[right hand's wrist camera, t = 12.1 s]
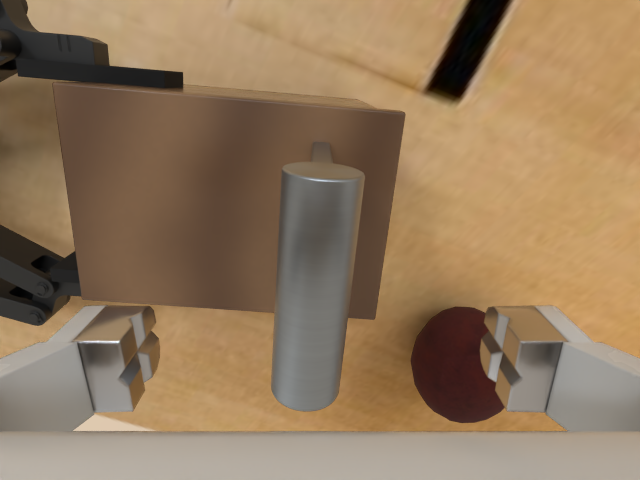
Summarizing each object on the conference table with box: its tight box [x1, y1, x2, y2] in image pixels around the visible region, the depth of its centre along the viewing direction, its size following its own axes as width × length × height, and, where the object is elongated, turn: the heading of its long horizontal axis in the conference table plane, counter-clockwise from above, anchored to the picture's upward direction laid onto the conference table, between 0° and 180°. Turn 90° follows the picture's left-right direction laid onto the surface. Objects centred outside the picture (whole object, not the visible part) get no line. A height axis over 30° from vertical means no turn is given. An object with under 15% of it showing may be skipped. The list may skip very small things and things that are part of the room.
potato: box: [411, 307, 505, 423], centre depth 29 cm, size 7×8×7 cm
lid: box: [52, 82, 405, 411], centre depth 15 cm, size 14×10×8 cm
